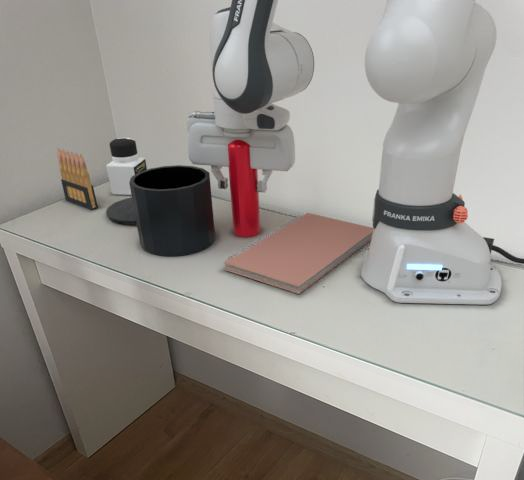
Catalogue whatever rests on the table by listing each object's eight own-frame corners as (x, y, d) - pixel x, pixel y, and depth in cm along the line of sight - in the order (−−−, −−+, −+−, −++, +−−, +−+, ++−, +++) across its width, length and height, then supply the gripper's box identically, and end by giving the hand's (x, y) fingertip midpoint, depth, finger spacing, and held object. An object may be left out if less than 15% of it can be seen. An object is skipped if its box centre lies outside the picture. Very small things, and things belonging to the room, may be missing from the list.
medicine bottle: (139, 195, 127) (130, 143, 120) (111, 194, 128) (101, 143, 121) (150, 186, 132) (142, 135, 125) (123, 185, 134) (114, 135, 127)
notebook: (303, 219, 111) (303, 210, 110) (375, 237, 103) (376, 227, 102) (219, 269, 94) (218, 259, 93) (298, 295, 85) (299, 284, 84)
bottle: (240, 225, 110) (233, 123, 98) (264, 228, 108) (260, 124, 97) (228, 235, 106) (220, 130, 94) (253, 238, 104) (248, 131, 93)
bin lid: (189, 203, 122) (186, 180, 119) (159, 229, 110) (155, 205, 106) (128, 198, 126) (124, 176, 123) (93, 223, 113) (88, 199, 110)
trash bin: (225, 229, 108) (220, 167, 101) (198, 260, 97) (190, 193, 90) (161, 223, 112) (152, 163, 105) (127, 252, 101) (114, 187, 94)
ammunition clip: (98, 207, 121) (86, 153, 114) (91, 210, 120) (79, 155, 113) (72, 198, 127) (59, 146, 120) (65, 200, 126) (52, 148, 119)
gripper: (178, 114, 94) (186, 190, 102) (289, 120, 89) (288, 200, 97) (192, 106, 99) (199, 180, 107) (298, 112, 94) (296, 188, 102)
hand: (242, 189), depth 102 cm, fingers open, 6 cm apart
